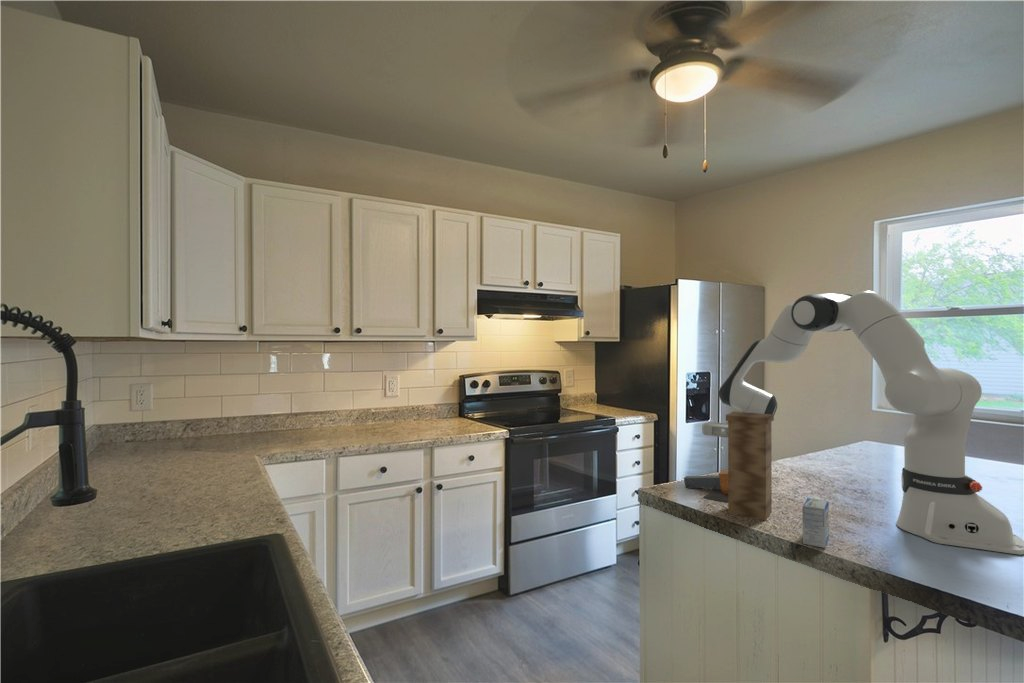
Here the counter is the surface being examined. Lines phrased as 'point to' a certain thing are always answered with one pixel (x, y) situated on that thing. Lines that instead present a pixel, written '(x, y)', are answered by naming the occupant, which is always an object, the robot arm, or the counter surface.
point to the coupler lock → (708, 481)
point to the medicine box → (815, 522)
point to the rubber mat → (717, 495)
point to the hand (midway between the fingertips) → (730, 435)
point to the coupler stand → (749, 464)
